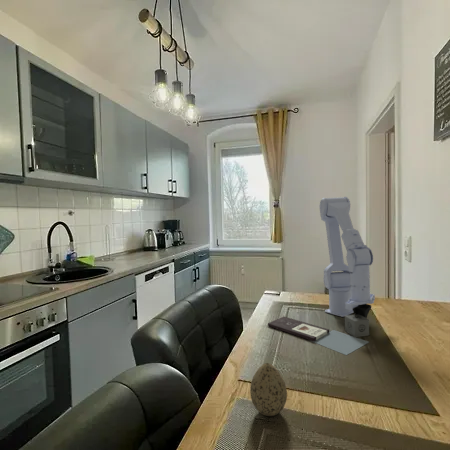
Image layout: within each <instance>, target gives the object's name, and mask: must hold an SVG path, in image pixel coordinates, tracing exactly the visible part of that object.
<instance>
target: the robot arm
mask: <svg viewBox="0 0 450 450" xmlns="http://www.w3.org/2000/svg"><path fill="white" fill-rule="evenodd" d="M350 211H351V201H350V199H349V198H348V196H343V197H341V196H340V197H322V198H321V200H320V201H319V215H320V219H321V221H323V222H324V224H325V231H326V238H327V239H326V240H327V248H328V255H329V262H330V263H329V264H328V265H327V266H326V267H325V268H324V269H323V284H324V287H325V288H326V289H327V290H328V302H329V303H328V306H329V307H328V309H325V310H324V313H328V314H331V315H335V316H338V317H341V318H345V316H347V315H352V314H353V313H354V314H353V315H355V314H358V315H361V316H363V317H365V318H367V319H368V316H369V313H370V311H371V310H372V304H374V303H375V300H376V298H375V297H376V295H375V294H374V293H371V282H370V281H371V280H370V278H371V276H370V274H371V272H370V266H371V265H373V263H374V253H373V251H372V249H371V248H370V247H368V245H367V244H364V241H363V239H362V236H361V234H360V232H359V230H358V229H355V228H354V225H353V223H352V220H351V215H350ZM340 230H341V231H342V233H341V231H340ZM342 242H343V245H344V247H345V250H346V257H345V258H346V263H347V264H346V263H345V261H344V254H343V245H342Z"/></svg>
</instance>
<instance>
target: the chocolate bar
mask: <svg viewBox="0 0 450 450" xmlns="http://www.w3.org/2000/svg"><path fill="white" fill-rule="evenodd" d="M267 327H269V328H273V329H276V330H278V331H282V332H284V333H287V334H290V335H293V336H297V337H299V338H303V339H305V340H308V341H310V340H311V341H310V342H312V341H315V340H317V339H319V338H321V337H322V336H324V335H326V334H327V333H329V332H330V329H329V328H325V327H321V326H318V325H315V324H311V323H308V322H304V321H301V320H298V319H294V318H290V317H288V316H287V317H286V316H282V317H279V318H277V319H274V320H273V321H269V322H268V323H267Z"/></svg>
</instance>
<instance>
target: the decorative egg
mask: <svg viewBox="0 0 450 450" xmlns="http://www.w3.org/2000/svg"><path fill="white" fill-rule="evenodd" d="M287 394H288V392H287V386H286V383H285V381H284V378H283V376H282V374H281V373H280V371H279V370H278V369H277V368H276V367H275V365H273V364H271V363H269V362H266V363H263V364H261V366H259V368H257V370H256V371H255V373H254V375H253V377H252V379H251V382H250V393H249V395H250V399H251V402H252V405H253V406H254V408H255V409H256V411H258V412H259V413H260V414H261V415H263V416H265V417H274V416H276V415H278V414H280V413H281V412H282V411H283V409H284V407H285V406H286V403H287V399H288V398H287V397H288V395H287Z"/></svg>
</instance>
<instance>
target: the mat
mask: <svg viewBox="0 0 450 450" xmlns="http://www.w3.org/2000/svg"><path fill="white" fill-rule="evenodd" d="M309 342H312V343H315V344H316V345H319V346H321V347H324V348H327V349H329V350H332V351H334V352H337V353H340V354H342V355H344V356H348V355H349V354H351V353H354V352H355V351H357V350H358V349H360V348H362V347H365V345H368V344H369V343H370V341H367V340H364V339H361V338H360V337H354V336H352V335H351V334H346V333H344V332H341V331H338V330H335V329H332V330H331V331H330V330H329V333H327V334H326V335H324V336H322V337H321V338H319V339H317V340H315V341H311V340H309Z"/></svg>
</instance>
